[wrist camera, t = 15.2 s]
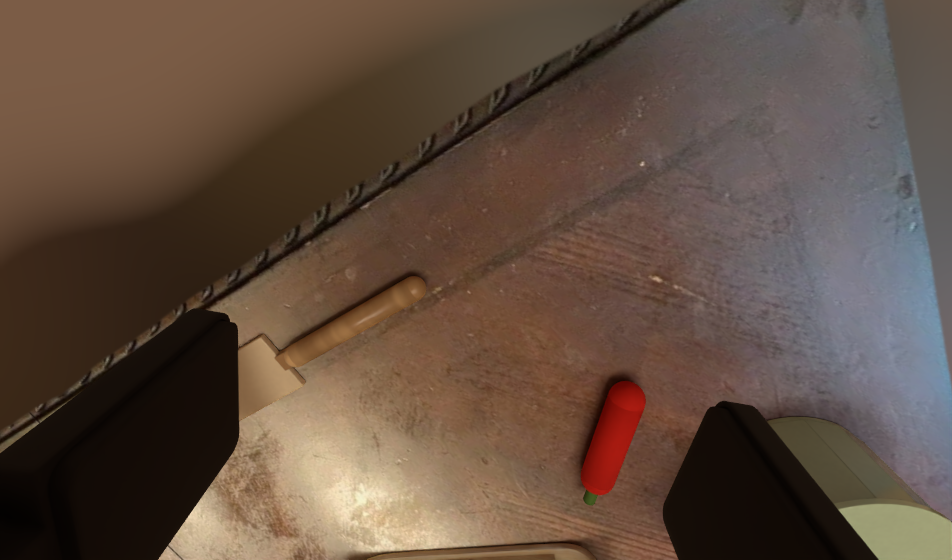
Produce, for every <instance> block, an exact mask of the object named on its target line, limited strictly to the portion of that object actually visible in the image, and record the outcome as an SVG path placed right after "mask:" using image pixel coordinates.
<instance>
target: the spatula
mask: <svg viewBox="0 0 952 560" xmlns="http://www.w3.org/2000/svg"><path fill="white" fill-rule="evenodd" d="M425 293H426V284H425V282H424V281H423V280H422V279H421V278H420V277H417V276H410V277H408V278H406V279H404V280H403V281H401V282H399V283H397V284H396V285H394V286H392V287H390V288H389V289H387V290H385V291H384V292H382V293H380V294H378V295H377V296H375V297H373V298H371V299H370V300H368V301H366V302H365V303H363V304H361V305H359V306H358V307H356V308H354V309H352V310H351V311H349V312H347V313H346V314H344V315H342V316H340V317H339V318H337V319H335V320H333V321H332V322H330V323H328V324H327V325H325V326H323V327H321V328H320V329H318V330H316V331H314V332H313V333H311V334H309V335H308V336H306V337H304V338H302V339H301V340H299V341H297V342H295V343H294V344H292V345H290V346H289V347H287V348H285V349H284V350H282V351H280V352H279V351H278V350H277V348H276V347H275V346H274V345H273V344H272V343H271V342H270V340H269V339H268V338H267V337H266V336H265V335H264V334H262V335H261V336H259V337H257V338H256V339H254V340H252V341H250V342H249V343H247V344H245V345H244V346H242V347H240V348H239V349H238V375H239V421H240V420H242V419H244V418H246V417H248V416H250V415H251V414H253V413H255V412H257V411H259V410H261V409H262V408H264V407H266V406H268V405H270V404H271V403H273V402H275V401H277V400H279V399H281V398H282V397H284V396H286V395H288V394H290V393H291V392H293V391H295V390H297V389H299V388H301V387H302V386H304V384H305V382H306V381H305V380H304V379H303V378H302V377H301V376H300V375H299V373H298V372H297V371H296V370H295V369H294V368H293V367H300V366H302V365H304V364H306V363H308V362H309V361H311V360H313V359H315V358H317V357H318V356H320V355H322V354H324V353H325V352H327V351H329V350H331V349H333V348H334V347H336V346H338V345H340V344H341V343H343V342H345V341H347V340H349V339H350V338H352V337H354V336H356V335H358V334H359V333H361V332H363V331H365V330H366V329H368V328H370V327H372V326H374V325H375V324H377V323H379V322H381V321H382V320H384V319H386V318H388V317H390V316H391V315H393V314H395V313H397V312H398V311H400V310H402V309H404V308H406V307H407V306H409V305H411V304H413V303H414V302H416V301H418V300H420V299H421V298H422V297H423V296H424V295H425Z"/></svg>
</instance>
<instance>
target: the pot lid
mask: <svg viewBox="0 0 952 560" xmlns="http://www.w3.org/2000/svg"><path fill="white" fill-rule="evenodd" d="M834 505H835V506H836V507H837V509H838V510H839V511H840V512H841V514H842V515H843V516H844V517H845V518H846V520H847V521H848V522H849V523H850V525H851V526H852V527H853V528H854V530H855V531H856V532H857V533H858V535H859V536H860V537H861V538H862V539H863V541H864V542H865V543H866V544H867V546H868V547H869V548H870V549H871V551H872V552H873V553H874V554H875V556H876V557H877V558H878V559H879V560H952V521H951V520H949V519H948V518H947V517H945V516H944V515H943V514H941V513H939V512H937V511H935V510H934V509H932V508H929V507H927V506H924V505H921V504H918V503H914V502H910V501H905V500H898V499H889V498H867V499H855V500H849V501H843V502H838V503H834Z"/></svg>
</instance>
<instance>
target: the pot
mask: <svg viewBox="0 0 952 560" xmlns="http://www.w3.org/2000/svg"><path fill="white" fill-rule="evenodd" d="M767 422H768V423H769V425H770V426H771V427H772V428H773V430H774V431H775V432H776V433H777V435H778V436H779V437H780V438H781V439H782V441H783V442H784V443H785V444H786V446H787V447H788V448H789V449H790V451H791V452H792V453H793V454H794V456H795V457H796V458H797V459H798V460H799V462H800V463H801V464H802V465H803V467H804V468H805V469H806V470H807V472H808V473H809V474H810V475H811V476H812V478H813V479H814V480H815V481H816V483H817V484H818V485H819V486H820V488H821V489H822V490H823V491H824V493H825V494H826V495H827V496H828V497H829V499H830V500H831V501H832V502H833V504H834V503H838V502H843V501H849V500H855V499H867V498H889V499H898V500H905V501H910V502H914V503H918V504H921V505H924V506H927V507H929V508H931V507H930V506H929V505H928V504H927V503H926V502H925V501H924V500H923V499H922V498H921V497H920V496H919V495H918V494H917V493H916V492H915V491H914V490H913V489H912V488H911V487H909V486H908V485H907V484H906V483H905V482H904V481H903V480H902V479H901V478H900V477H899V476H898V475H897V474H896V473H895V472H894V471H893V470H892V469H891V468H890V467H889V466H888V465H887V464H886V463H885V462H884V461H883V460H882V459H881V458H880V457H879V456H877V455H876V454H875V453H874V452H873V451H872V450H871V449H870V448H869V447H868V446H867V445H866V444H865V443H864V442H863V441H862V440H860V439H858V438H857V437H856V436H854V435H853V434H852V433H851V432H849V431H848V430H847V429H845V428H843V427H841V426H839V425H837V424H835V423H832V422H830V421H826V420H822V419H818V418H811V417H785V418H778V419H773V420H768V421H767Z"/></svg>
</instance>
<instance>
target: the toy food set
mask: <svg viewBox="0 0 952 560" xmlns="http://www.w3.org/2000/svg"><path fill="white" fill-rule="evenodd" d="M366 560H597V559H596V558H595V557H594V555H593V554H592V553H590V552H589V551H588V550H586V549H585V548H583V547H580V546H578V545H574V544H567V543H555V544H533V545H514V546H500V547H482V548H466V549H447V550H429V551H412V552H399V553H389V554H382V555H377V556H374V557H371V558H368V559H366Z"/></svg>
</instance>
